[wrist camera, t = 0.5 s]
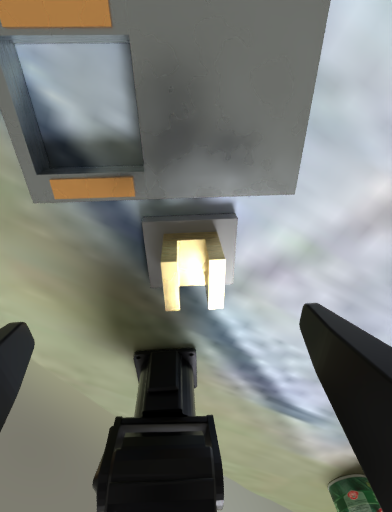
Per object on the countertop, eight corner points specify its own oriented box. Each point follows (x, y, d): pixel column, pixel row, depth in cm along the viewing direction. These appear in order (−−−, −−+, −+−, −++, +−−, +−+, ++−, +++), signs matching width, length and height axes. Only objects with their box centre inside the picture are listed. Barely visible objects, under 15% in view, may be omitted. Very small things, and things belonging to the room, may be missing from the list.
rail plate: (284, 186, 19) (295, 195, 17) (47, 193, 18) (32, 204, 16) (314, -1, 14) (335, -17, 12) (-15, -1, 13) (-47, -18, 11)
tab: (230, 277, 23) (232, 284, 22) (151, 281, 23) (150, 288, 22) (235, 213, 20) (237, 218, 19) (143, 216, 19) (141, 222, 19)
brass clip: (215, 275, 21) (223, 308, 18) (167, 277, 21) (165, 311, 18) (217, 231, 19) (225, 259, 16) (163, 233, 19) (160, 262, 16)
